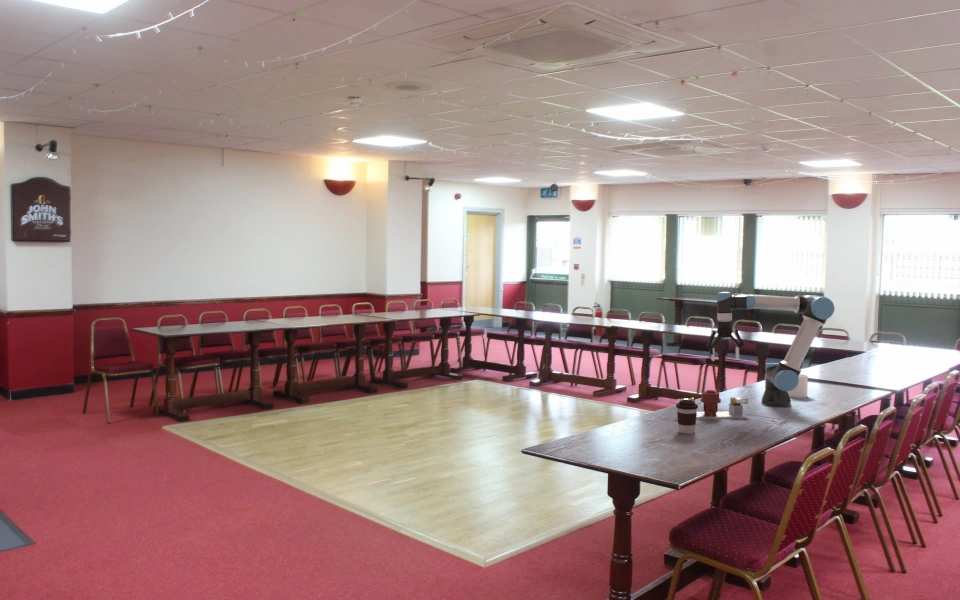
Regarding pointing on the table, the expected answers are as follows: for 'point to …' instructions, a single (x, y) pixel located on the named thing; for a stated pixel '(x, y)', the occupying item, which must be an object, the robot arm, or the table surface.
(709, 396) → the mechanical component
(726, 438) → the table surface
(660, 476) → the table surface
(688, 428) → the coffee cup
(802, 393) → the cup
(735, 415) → the shaft bed
